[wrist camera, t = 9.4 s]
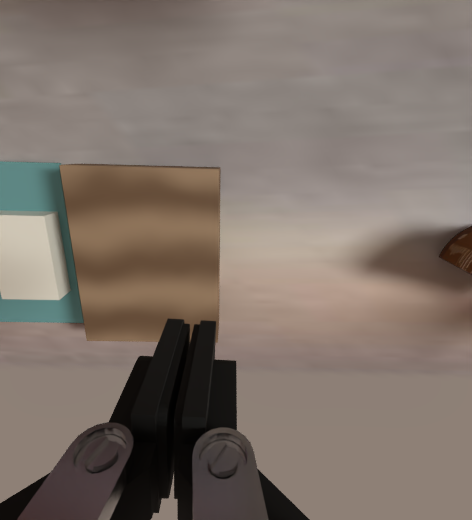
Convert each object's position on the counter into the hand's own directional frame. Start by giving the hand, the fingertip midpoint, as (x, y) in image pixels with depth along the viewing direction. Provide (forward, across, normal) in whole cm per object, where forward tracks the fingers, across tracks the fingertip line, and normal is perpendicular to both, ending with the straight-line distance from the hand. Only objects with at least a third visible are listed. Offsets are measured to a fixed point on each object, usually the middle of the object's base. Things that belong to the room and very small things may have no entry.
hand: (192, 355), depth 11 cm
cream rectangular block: (+21, +20, +5) cm, 29 cm away
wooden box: (+23, +7, +4) cm, 24 cm away
